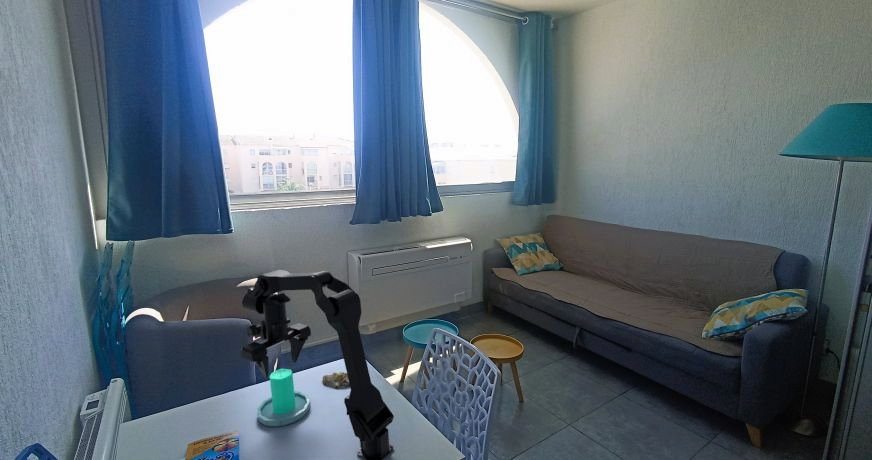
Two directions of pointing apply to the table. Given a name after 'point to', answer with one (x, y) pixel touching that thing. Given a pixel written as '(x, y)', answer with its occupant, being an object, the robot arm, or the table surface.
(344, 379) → the mineral rock
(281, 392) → the candle
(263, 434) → the table surface
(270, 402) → the dish
